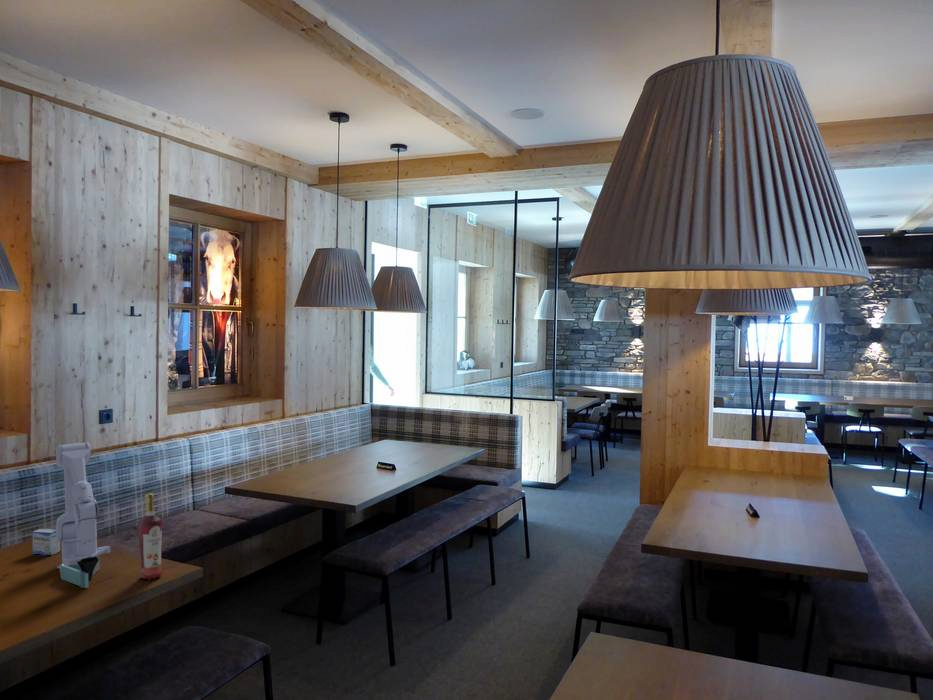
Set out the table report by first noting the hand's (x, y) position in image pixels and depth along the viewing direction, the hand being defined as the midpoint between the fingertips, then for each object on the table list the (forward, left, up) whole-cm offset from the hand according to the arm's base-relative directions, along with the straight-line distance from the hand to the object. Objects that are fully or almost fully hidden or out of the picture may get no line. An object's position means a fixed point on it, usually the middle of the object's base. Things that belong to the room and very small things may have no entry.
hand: (88, 580), depth 220 cm
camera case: (-10, -7, -2) cm, 12 cm away
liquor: (-5, +18, -2) cm, 19 cm away
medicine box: (-33, -30, -2) cm, 45 cm away
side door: (-1, -5, -1) cm, 6 cm away
